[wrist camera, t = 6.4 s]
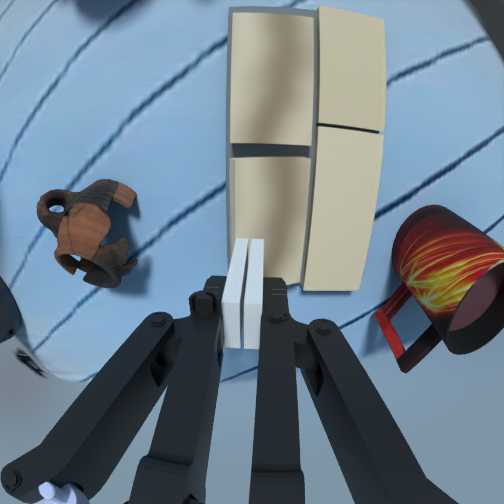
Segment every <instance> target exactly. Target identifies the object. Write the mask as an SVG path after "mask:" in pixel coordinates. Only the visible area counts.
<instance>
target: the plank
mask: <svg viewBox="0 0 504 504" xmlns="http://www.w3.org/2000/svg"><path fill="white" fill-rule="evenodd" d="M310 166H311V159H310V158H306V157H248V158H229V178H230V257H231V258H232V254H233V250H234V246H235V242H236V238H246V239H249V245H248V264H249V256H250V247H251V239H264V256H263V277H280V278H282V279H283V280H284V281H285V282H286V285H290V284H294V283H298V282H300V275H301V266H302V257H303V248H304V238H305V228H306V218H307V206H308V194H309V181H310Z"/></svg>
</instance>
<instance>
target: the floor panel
mask: <svg viewBox="0 0 504 504" xmlns="http://www.w3.org/2000/svg"><path fill="white" fill-rule="evenodd" d="M233 13H273V14H286V15H297V16H305V17H313V25H314V86H313V120H312V142H311V146H307V145H291V144H267V143H230V103H231V52H232V20H233ZM385 112H386V45H385V28H384V20H383V19H379V18H376V17H372V16H368V15H364V14H360V13H355V12H351V11H346V10H341V9H335V8H330V7H323V6H319V7H318V9H317V11H314V10H306V9H296V8H284V7H259V6H244V7H229V16H228V44H227V87H226V211H227V258H228V271H229V267H230V263H231V257H230V178H229V158H248V157H306V158H310V159H311V166H310V181H309V194H308V206H307V218H306V228H305V238H304V248H303V257H302V266H301V275H300V282H298V283H294V284H302V287H303V290H305V291H359V287H360V283H361V279H362V275H363V270H364V266H365V261H366V257H367V252H368V247H369V242H370V237H371V232H372V226H373V221H374V215H375V209H376V202H377V195H378V188H379V181H380V173H381V164H382V154H383V143H384V135H380V134H379V131H382V132H384V130H385Z"/></svg>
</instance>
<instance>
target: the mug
mask: <svg viewBox="0 0 504 504" xmlns="http://www.w3.org/2000/svg"><path fill="white" fill-rule="evenodd" d="M392 262H393V266H394V269H395V271H396V273H397V274H398V275H399V277H400V278H401V279H402V281H403V283H402V284H401V286H400V287H399V288H398V289H397V290H396V292H395V293H394V294H393V295H392V296H391V298H390V299H389V300H388V301H387V302H386V303H385V304H384V306H383V307H382V308H381V309H380V310H379V311H378V312H377V313H376V314H375V317H376V319H377V321H378V323H379V325H380V328H381V330H382V332H383V334H384V336H385V337H386V338H387V340H388V343H389V345H390V347H391V349H392V352H393V354H394V356H395V358H396V361H397V363H398V365H399V368H400V370H401V371H402V372H404V373H407V372H409V371H410V370H411V369H412V368H413V367H414V366H415V365H417V364H418V363H419V362H420V361H421V360H422V359H423V358H424V357H425V356H426V355H427V354H428V353H429V352H430V351H431V350H432V349H433V348H434V347H435V346H436V345H437V344H438V343H439V342H440V341H441V340H443V341H444V343H445V345H446V346H447V348H448V350H449V351H450V352H452V353H453V354H457V355H461V354H468V353H471V352H473V351H475V350H478V349H479V348H481V347H482V346H484V345H486V344H487V343H488V342H489V341H491V340H492V339H493V338H494V337H495V336H496V335H497V334H498V333H499V332H500V331H501V330H502V329H503V328H504V247H503V246H501V245H500V244H499V243H497V242H496V241H495V240H493V239H492V238H490V237H489V236H488V235H486V234H485V233H484V232H482V231H481V230H479V229H478V228H476V227H475V226H473V225H472V224H470V223H469V222H467V221H466V220H464V219H463V218H461V217H460V216H458V215H457V214H455V213H454V212H452V211H450V210H449V209H447V208H446V207H443V206H440V205H428V206H425V207H422V208H420V209H418V210H417V211H415V212H414V213H412V214H411V215H410V216H409V217H408V218H407V219H406V220H405V221H404V223H403V224H402V225H401V227H400V229H399V230H398V232H397V234H396V237H395V240H394V243H393V248H392ZM411 295H413V296H414V297H415V299H416V300H417V302H418V303H419V305H420V306H421V308H422V309H423V310H424V312H425V313H426V315H427V316H428V318H429V319H430V321H431V322H432V324H431V325H430V326H429V328H428V329H427V330H426V331H425V332H424V333H423V334H422V335H421V336H420V337H419V338H418V339H417V340H416V341H415V342H414V343H413V344H412V345H411V346H410V347H409V348H408V349H407V350H406V351H405V349H404V347H403V345H402V343H401V341H400V339H399V337H398V335H397V333H396V331H395V329H394V327H393V325H392V323H391V321H390V319H391V318H392V317H393V316H394V315H395V314H396V313H397V312H398V310H399V309H400V308H401V307H402V306H403V305H404V304H405V302H406V301H407V300H408V299H409V298H410V297H411Z"/></svg>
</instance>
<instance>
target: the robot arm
mask: <svg viewBox="0 0 504 504" xmlns="http://www.w3.org/2000/svg"><path fill="white" fill-rule="evenodd" d="M248 245H249V239H246V238H236V242H235V246H234V250H233V254H232V258H231V263H230V267H229V271H228V275H227V276H211V277H210V278H209V279H207V280H206V283H205V286H204V289H203V291H198V292H195V293H193V294H192V295H191V296H190V297H189V305H190V312H191V314H190V316H188V317H185V318H180V319H173V317H172V316H171V315H170V314H168V313H166V312H155V313H152V314H150V315H149V316H147V317H146V318H145V319H144V320H143V322H142V323H141V324H140V325H139V326H138V327H137V328H136V329H135V331H134V332H133V333H132V334H131V335H130V336H129V337H128V339H127V340H126V341H125V342H124V343H123V344H122V345H121V347H120V348H119V349H118V350H117V351H116V352H115V353H114V355H113V356H112V357H111V358H110V359H109V360H108V362H107V363H106V364H105V365H104V366H103V367H102V369H101V370H100V371H99V372H98V373H97V375H96V376H95V377H94V378H93V379H92V380H91V382H90V383H89V384H88V385H87V386H86V388H85V389H84V390H83V391H82V393H81V394H80V395H79V396H78V397H77V399H76V400H75V401H74V402H73V404H72V405H71V406H70V407H69V408H68V410H67V411H66V412H65V413H64V415H63V416H62V417H61V418H60V420H59V421H58V422H57V423H56V425H55V426H54V427H53V429H52V430H51V431H50V432H49V434H48V435H47V436H46V438H45V439H44V440H43V442H42V443H41V444H40V445H39V446H37V447H36V448H34V449H32V450H31V451H29V452H27V453H26V454H24V455H22V456H21V457H19V458H17V459H16V460H14V461H12V462H11V463H9V464H7V465H6V466H5V467H4V468H3V469H2V472H1V483H2V486H3V488H4V489H5V491H6V492H7V493H8V494H10V495H11V496H13V497H14V498H16V499H18V500H20V501H22V502H24V503H25V504H90V503H89V500H90V499H91V498H93V497H94V496H95V495H96V494H97V493H98V492H99V491H100V490H101V488H102V487H103V485H104V484H105V483H106V481H107V480H108V478H109V477H110V475H111V474H112V472H113V470H114V469H115V467H116V466H117V464H118V463H119V461H120V459H121V458H122V456H123V455H124V453H125V451H126V450H127V448H128V447H129V445H130V444H131V442H132V440H133V439H134V437H135V436H136V434H137V433H138V431H139V430H140V428H141V426H142V425H143V423H144V421H145V420H146V418H147V417H148V415H149V414H150V412H151V411H152V409H153V407H154V406H155V404H156V403H157V401H158V400H159V398H160V396H161V395H162V393H163V392H164V390H165V389H166V387H167V385H168V387H167V390H166V394H165V397H164V401H163V404H162V407H161V411H160V414H159V418H158V421H157V425H156V429H155V432H154V436H153V440H152V443H151V447H150V450H149V453H148V454H147V455H146V456H144V457H142V459H141V460H140V462H139V465H138V468H137V471H136V476H135V479H134V483H133V487H132V491H131V495H130V499H129V501H127V502H125V503H124V504H205V498H206V489H205V482H206V473H207V466H208V459H209V451H210V444H211V437H212V429H213V422H214V415H215V408H216V401H217V395H218V388H219V381H220V374H221V367H222V361H223V344H224V347H226V348H240V346H241V337H242V327H243V318H244V349H259V361H258V378H257V394H256V410H255V412H256V413H255V427H254V440H253V441H254V442H253V455H252V468H251V481H250V494H249V504H305V485H304V484H305V483H304V475H303V472H302V470H301V466H300V442H299V420H298V400H297V384H296V369H295V367H297V368H300V370H301V373H302V376H303V378H304V380H305V383H306V385H307V388H308V390H309V392H310V395H311V398H312V400H313V402H314V405H315V407H316V410H317V412H318V415H319V417H320V420H321V422H322V424H323V427H324V429H325V432H326V434H327V436H328V439H329V441H330V444H331V446H332V449H333V451H334V454H335V456H336V458H337V461H338V463H339V466H340V468H341V471H342V473H343V476H344V478H345V481H346V483H347V485H348V488H349V490H350V493H351V495H352V498H353V500H354V502H355V504H458V503H457V502H456V501H455V500H453V499H452V498H451V497H450V496H448V495H447V494H446V493H444V492H443V491H442V490H441V489H439V488H438V487H437V486H436V485H435V484H433V483H432V482H431V481H430V480H428V479H427V478H426V476H425V474H424V472H423V471H422V469H421V467H420V465H419V463H418V462H417V460H416V458H415V456H414V454H413V452H412V450H411V449H410V447H409V445H408V443H407V441H406V440H405V438H404V436H403V434H402V433H401V431H400V429H399V427H398V426H397V424H396V422H395V420H394V419H393V417H392V415H391V413H390V412H389V410H388V408H387V406H386V405H385V403H384V401H383V400H382V398H381V396H380V395H379V393H378V391H377V390H376V388H375V386H374V384H373V383H372V381H371V379H370V378H369V376H368V374H367V373H366V371H365V369H364V368H363V366H362V365H361V363H360V361H359V360H358V358H357V356H356V355H355V353H354V351H353V350H352V348H351V347H350V345H349V343H348V342H347V340H346V339H345V337H344V335H343V334H342V332H341V331H340V329H339V327H338V326H337V325H336V324H335V323H334V322H332V321H330V320H327V319H316V320H313V321H312V322H311V323H310V324H309V325H307V324H303V323H300V322H297V321H296V320H294V319H293V318H292V317H291V315H290V314H289V308H288V298H287V288H286V282H285V281H284V280H283V279H282V278H280V277H263V256H264V239H251V247H250V256H249V264H248ZM20 327H21V317H20V313H19V310H18V307H17V305H16V303H15V301H14V298H13V297H12V295H11V293H10V291H9V290H8V288H7V286H6V285H5V283H4V282H3V281H2V279H1V278H0V343H2V342H4V341H6V340H8V339H10V338H11V337H13V336H14V335H15V334H16V333H17V331H18V330H19V329H20Z"/></svg>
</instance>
